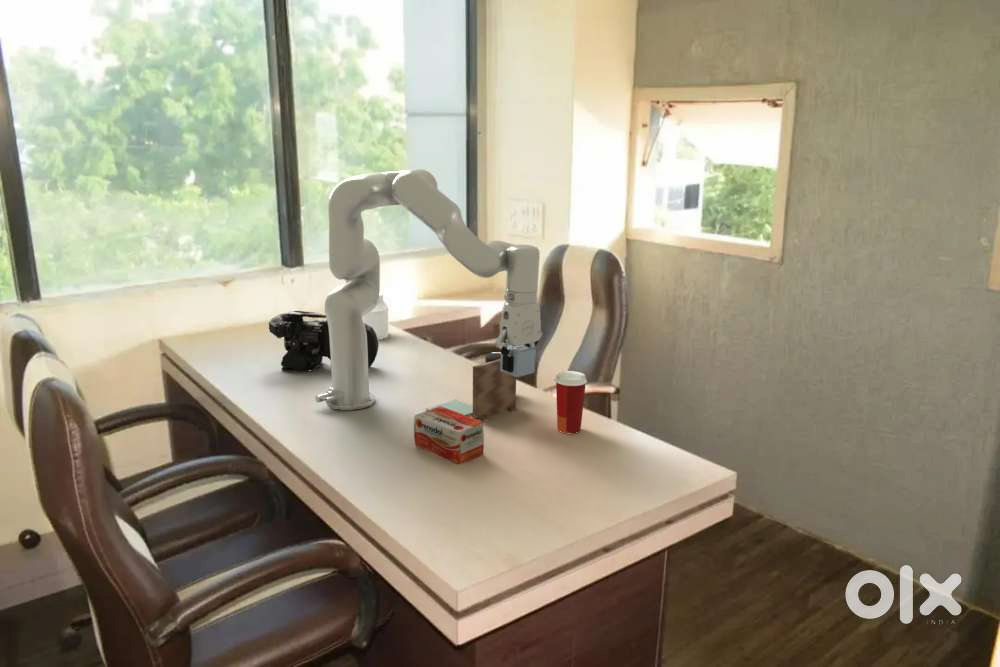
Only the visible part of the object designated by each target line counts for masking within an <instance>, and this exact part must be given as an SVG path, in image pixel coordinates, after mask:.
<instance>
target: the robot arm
mask: <svg viewBox="0 0 1000 667" xmlns="http://www.w3.org/2000/svg"><path fill="white" fill-rule="evenodd" d="M399 205H401V206H402V207H403V208H404V209H405V210H406V211H408V212H409V213H411V214H412V215H413V216H414V217H415V218H417V220H418V221H420V222H421V223H423V225H425V226H426V227H428V228H429V229H430V230H431V231H432V232H433V233H434V234H435V235H436V236H437V238H438V240H439V241H440V243H441V244H442V246H444V248H445V250H446V251H447V252H448V253H449V255H451V257H453V258H454V259H455V260H456V261H457V262H458V263H460V264H461V265H462V266H463V267H465V269H467V270H468V271H469V272H471V273H472V274H473V275H475V276H478V277H479V278H485V279H487V278H491V277H492V278H493V277H494V276H496V275H498V274H499V273H501V272H506V284H505V286H506V288H505V295H504V296H503V299H504V300H505V301H504V304H503V307H502V312H501V316H500V323H499V324H500V325H499V335H498V337H497V338H496V340H494V346H495V347H496V348H497V349H498V351H499V352H500V353H501V354H502V355H503V363H502V369H503V370H505V371H508V372H510V373H511V372H513V361H514V357H513V356H512V354H513V351H514V348H515V346H520V345H525V346H528V347H531V348H533V349H536V347H537V345H538V343H539V341H540V339H541V338H542V337H543V332H542V331H541V327H542V325H541V323H542V322H541V321H542V320H541V308H540V302H539V301H538V286H539V272H540V269H539V268H540V255H541V254H540V253H541V252H540V250H539V248H538V247H537V246H534V245H531V244H513V243H510V242H505V241H502V240H490V241H487V242H484V241H483V240H481V239H480V238H479V237H478V236H476V234H474V233H473V232H472V230H470V228H469V227H468V226H467V225H466V224H465V222H464V219H463V217H462V212H461V209H460V207H459V205H458V204H456V203H455V202H454V201H453V200H451V198H449V197H448V196H447V195H446V194H444V193H443V192H442V191H441V190H439V188H438V182H437V180H436V178H435V176H434V175H433V174H432V173H431V172H429V171H428V170H426V169H422V168H417V169H416V168H415V169H408V170H395V171H386V172H385V171H383V172H380V171H379V172H374V173H373V172H372V173H365V174H358V175H354V176H351V177H349V178H346V179H344V180H342V181H341V182H339V183H337V185H335V187H334V188H333V189H332V190H331V193H330V195H329V198H328V264H329V269H330V272H331V274H332V276H334V278H336V279H337V280H340V281H345V283H343V284H341V285H339V286H337V287H335V288H334V289H332V290H331V291H330V292H329V293H328V294H327V296H326V299H325V302H324V313H325V314H326V318H325V319H326V320H327V322H328V328H329V338H330V354H331V360H330V370H331V371H330V372H331V386H329V387H328V391H326V392H324V393H320V394H317V395H315V398H314V399H315V401H316V403H322V402H324V401H325V403H326V404H327V406H328V407H329V406H330V407H329V408H331V407H332V408H331V409H334V408H335V410H338V409H340V410H341V411H355V410H356V409H357V410H362V409H365V408H369V407H371V406H373V404H375V402H376V397H375V396H376V395H375V394H374V393H372V392H370V384H369V369H368V351H367V334H366V329H365V326H364V322H363V316H364V315H366V314H367V313H369V312H371V311H372V310H373V309H374V308H375V307H376V306H377V304H378V301H379V295H380V292H381V290H380V288H381V287H380V286H381V282H380V281H381V275H380V273H381V272H380V271H381V268H380V266H381V262H380V254H379V251H378V249H377V247H376V246H375V244H374V243H373V242H372V241H370V240H368V239H367V238H364V234H365V233H364V232H365V226H364V220H363V218H362V212H364V211H367V210H369V211H370V210H372V209H376V208H382V207H388V206H399ZM508 346H510V347H509V350H508V349H507V347H508Z"/></svg>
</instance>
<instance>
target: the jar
mask: <svg viewBox="0 0 1000 667" xmlns="http://www.w3.org/2000/svg"><path fill="white" fill-rule="evenodd" d="M363 322H364V324H366V325H369V326H371V327H372V328H373V329H374V331H375V333H376V335H377V339H381V338H385V337H387V336H388V335H390V334H389V307H388V305H387V303H386V302H385V301H384V293H383V292H381V291H380V295H379V301H378V304H377V306H376V307H375V308H374V309H373V310H372V311H371V312H369V313H367V314H366V315H364V316H363ZM388 337H389V336H388ZM388 337H387V338H388ZM385 339H386V338H385Z"/></svg>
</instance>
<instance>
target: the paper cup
mask: <svg viewBox="0 0 1000 667" xmlns="http://www.w3.org/2000/svg"><path fill="white" fill-rule="evenodd" d="M586 377H587V376H586V375H585V374H584V373H582V372H580V371H573V370H565V371H560V372H559V373H557V374H556V376H555V378H554V382H555V385H556V387H555V391H556V396H555V397H556V424H557V431H558V430H559V431H561V432H564V433H576V432H579V431H580V432H581V429H582V428H581V427H582V421H583V411H584V404H585V403H584V402H585V394H586V383H588V379H587V378H586ZM559 431H558V432H559ZM561 432H560V433H561ZM580 432H579V433H580ZM564 433H563V434H564ZM576 434H577V433H576Z"/></svg>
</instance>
